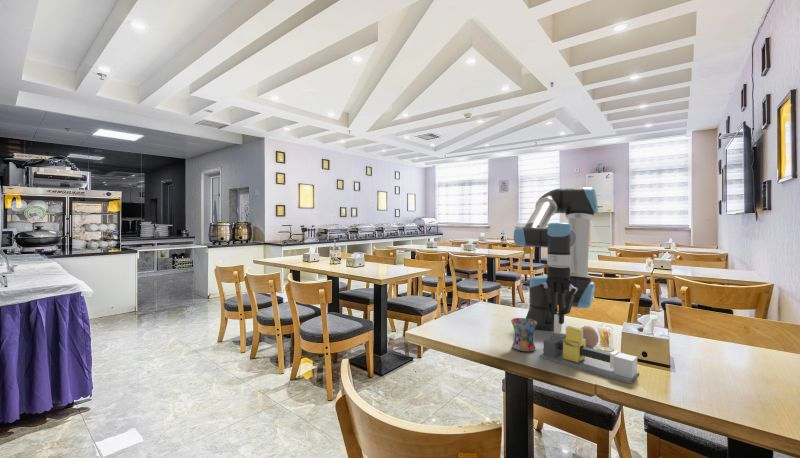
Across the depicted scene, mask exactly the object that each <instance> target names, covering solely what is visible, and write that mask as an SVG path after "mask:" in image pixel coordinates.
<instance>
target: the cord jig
mask: <svg viewBox="0 0 800 458" xmlns="http://www.w3.org/2000/svg"><path fill="white" fill-rule="evenodd" d="M564 339H566V337H561V336H556V335H552V336H550V337H548V338H545V340H543V352H542V353H541V354H539V355H538V356H539V358H541V359H543V360H547V361H551V362H554V363H557V364H560V365H565V366H567V367H571V368H574V369H578V370H581V371H585V372H588V373H591V374H595V375H598V376H602V377H606V378H608V379H613V380H616V381H620V382H622V383H626V384H631V383H632V382H633V381H634V380H635V379H636V378H637V377H638V376H639V375H640V371H638V356H636V355H631V354H627V353H624V352H621V351H619V350H617V349H616V350H615V349H614V350H613V351H611V352H607V351H604V350H599V349H596V348H588V347H584V346H581V347H580V355H582V356H585V358H584V359H583V360H581V361H580V362H574V361H571V360H567V359H563V340H564Z"/></svg>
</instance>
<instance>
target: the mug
mask: <svg viewBox="0 0 800 458" xmlns="http://www.w3.org/2000/svg"><path fill="white" fill-rule="evenodd" d="M510 321H511V323H512V327H513V331H514V338H513V342H512V344H511V346H512V348H513V349H515V350H517V351H519V352H533V351H535V350H536V349H537V347H536V344H535V343H534V334H535V330H536V329H535V327H536V325H537V322H536V321H535V320H532V319H527V318H526V317H515V318H511V320H510Z"/></svg>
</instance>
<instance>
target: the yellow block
mask: <svg viewBox="0 0 800 458" xmlns="http://www.w3.org/2000/svg"><path fill="white" fill-rule="evenodd" d="M581 346H584V347H586V339H583V329H581V327H575V326H570V325H568V326H566V327H565V339H564V340H563V359H567V360H571V361H574V362H580V361H581V360H583V359H584V358H585V357H586V356H582V355H580V347H581Z"/></svg>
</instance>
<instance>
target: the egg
mask: <svg viewBox="0 0 800 458" xmlns="http://www.w3.org/2000/svg"><path fill="white" fill-rule="evenodd" d="M580 329H583V339H586V347H588V348H592V349H594V348H595V347H596V346H597V345H598V343H599V335H598V332H597V331H596V329H594V328H593V327H592V326H590V325H584V326H582V327H580Z"/></svg>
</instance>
